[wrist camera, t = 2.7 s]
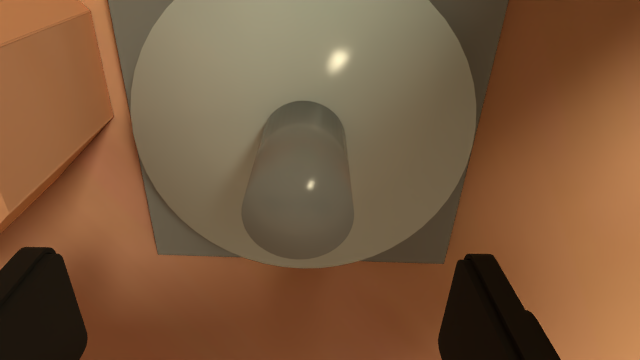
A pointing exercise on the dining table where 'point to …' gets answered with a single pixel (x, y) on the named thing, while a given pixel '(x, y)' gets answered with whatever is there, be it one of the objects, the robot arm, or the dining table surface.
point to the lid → (303, 123)
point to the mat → (421, 247)
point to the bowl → (45, 96)
